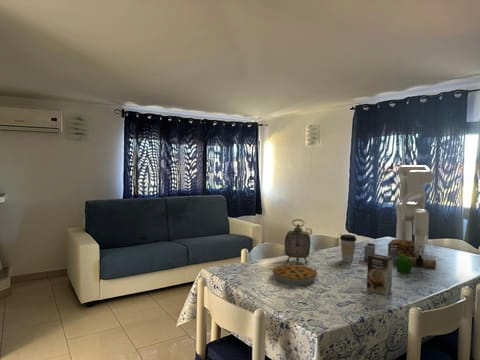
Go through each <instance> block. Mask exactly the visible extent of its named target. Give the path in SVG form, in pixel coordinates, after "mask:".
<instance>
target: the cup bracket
mask: <svg viewBox="0 0 480 360" xmlns="http://www.w3.org/2000/svg"><path fill="white" fill-rule="evenodd" d="M363 251H364V253H363V256H364V257H363V261H364V262H368V255H371V254H376V243H371V242H365V245H364V250H363Z"/></svg>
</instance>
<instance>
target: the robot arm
mask: <svg viewBox="0 0 480 360" xmlns="http://www.w3.org/2000/svg"><path fill="white" fill-rule="evenodd" d="M397 169H398V170H397V171H398V177H399V180H400V185H399V199H400V200H401V202H398V203H397V204H396V206H395V210H396V238H395V239H398V240H407V241H412V240H413V239H412V237H413V236H414V241H415V242H414V252H415V253H416V252H417V256H416V258H417V259H416V265H418V266H417V267H421V266H423V259H424V258H423V257H424V255H425V250H426V249H425V248H426V238H427V237H429V225H430V223H429V217H430V213H429V212H428V210H427V209H425V208H426V200H427V193H426V190H425V189H424V185H430V184H432V183H433V181H434V175H433V173H432V171H431V169H430V167H428V166H427V165H420V164H419V165H412V164H409V165H406V164H404V165H400V166H399V167H398V168H397ZM412 235H413V236H412Z"/></svg>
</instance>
